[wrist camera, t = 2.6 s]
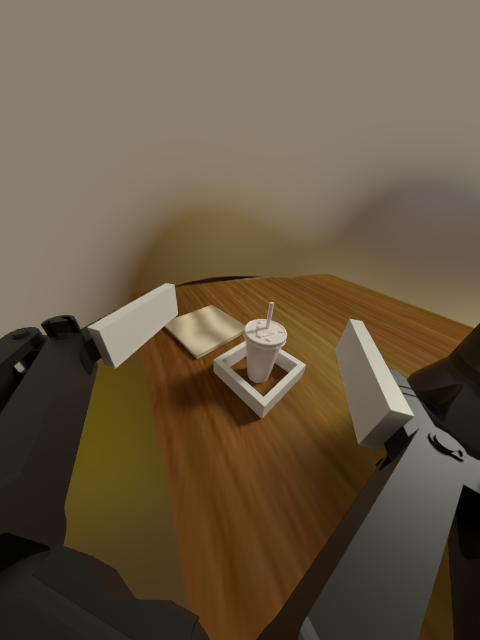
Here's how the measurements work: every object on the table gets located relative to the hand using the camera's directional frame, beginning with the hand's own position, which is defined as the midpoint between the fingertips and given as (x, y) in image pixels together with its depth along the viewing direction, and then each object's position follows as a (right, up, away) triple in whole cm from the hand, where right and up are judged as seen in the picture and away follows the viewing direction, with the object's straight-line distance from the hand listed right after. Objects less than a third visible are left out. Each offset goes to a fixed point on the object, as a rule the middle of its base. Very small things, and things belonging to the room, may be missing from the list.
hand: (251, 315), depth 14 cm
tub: (+2, -10, +18) cm, 21 cm away
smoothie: (+2, -10, +18) cm, 21 cm away
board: (-9, -2, +28) cm, 30 cm away
